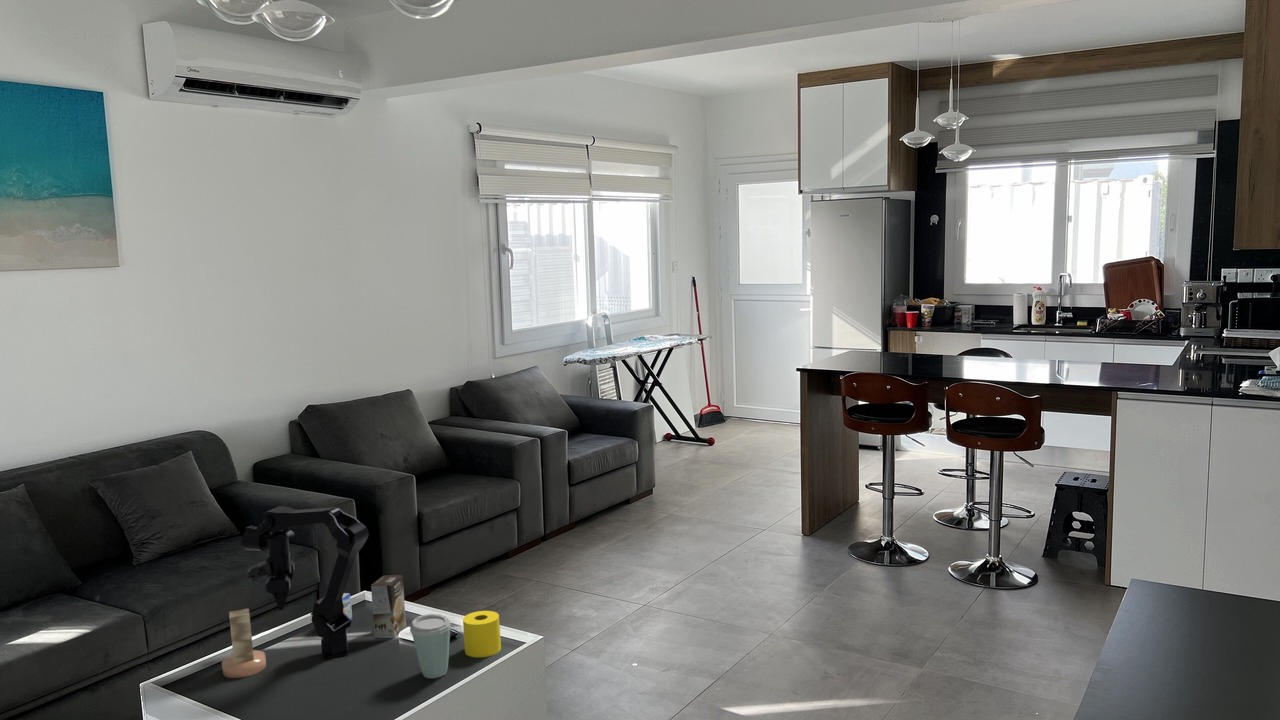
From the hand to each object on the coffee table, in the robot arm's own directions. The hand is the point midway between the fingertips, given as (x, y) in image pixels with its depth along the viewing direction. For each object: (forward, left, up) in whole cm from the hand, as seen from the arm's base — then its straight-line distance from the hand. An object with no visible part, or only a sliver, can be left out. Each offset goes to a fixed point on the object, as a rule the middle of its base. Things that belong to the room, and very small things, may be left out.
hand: (282, 604), depth 271 cm
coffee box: (-29, -1, -13) cm, 32 cm away
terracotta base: (+10, +11, -13) cm, 20 cm away
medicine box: (-14, -13, -13) cm, 24 cm away
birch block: (+10, +11, -10) cm, 18 cm away
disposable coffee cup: (-40, +33, -13) cm, 54 cm away
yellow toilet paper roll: (-54, +22, -13) cm, 60 cm away
